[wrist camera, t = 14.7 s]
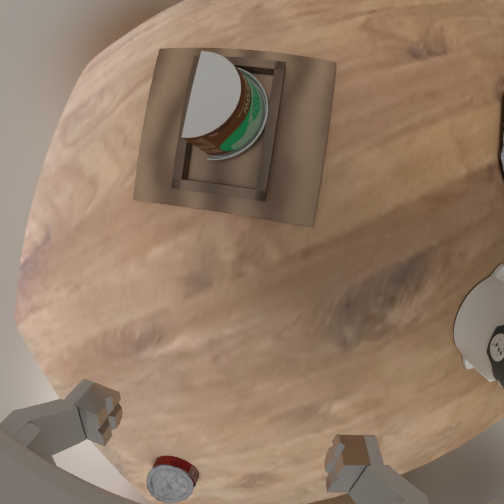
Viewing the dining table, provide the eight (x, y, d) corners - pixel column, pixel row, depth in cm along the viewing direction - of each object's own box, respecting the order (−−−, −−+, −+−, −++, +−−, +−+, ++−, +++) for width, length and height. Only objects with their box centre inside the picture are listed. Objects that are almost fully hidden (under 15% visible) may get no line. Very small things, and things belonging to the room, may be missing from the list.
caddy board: (335, 65, 34) (339, 55, 30) (312, 226, 39) (314, 230, 35) (162, 51, 35) (153, 42, 32) (136, 199, 40) (124, 201, 37)
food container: (264, 40, 24) (278, 75, 33) (204, 38, 25) (231, 71, 34) (240, 161, 27) (260, 168, 36) (178, 152, 28) (212, 161, 37)
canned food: (161, 450, 57) (132, 463, 48) (193, 446, 54) (164, 463, 45) (179, 489, 54) (152, 506, 45) (212, 489, 51) (187, 509, 42)
